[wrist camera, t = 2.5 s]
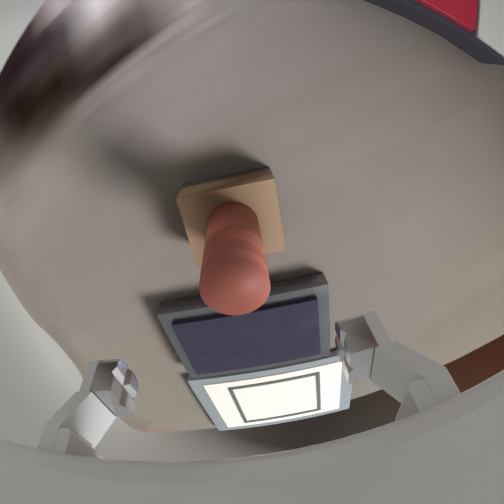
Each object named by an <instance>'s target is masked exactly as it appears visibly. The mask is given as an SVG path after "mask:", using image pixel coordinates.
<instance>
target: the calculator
mask: <svg viewBox="0 0 504 504" xmlns="http://www.w3.org/2000/svg"><path fill="white" fill-rule="evenodd" d="M365 1H367V2H370V3H372V4H375V5H377V6H380V7H382V8H384V9H387V10H389V11H391V12H394V13H396V14H398V15H400V16H403V17H405V18H407V19H409V20H411V21H413V22H415V23H417V24H419V25H421V26H423V27H425V28H427V29H429V30H431V31H433V32H435V33H437V34H439V35H440V36H442V37H444V38H446V39H447V40H448V41H449V42H450V43H452V44H453V45H455V46H457V47H458V48H460V49H461V50H463V51H464V52H466V53H467V54H469V55H470V56H472V57H473V58H475V59H476V60H478V61H479V62H481V63H486V64H499V65H504V0H365Z"/></svg>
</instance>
